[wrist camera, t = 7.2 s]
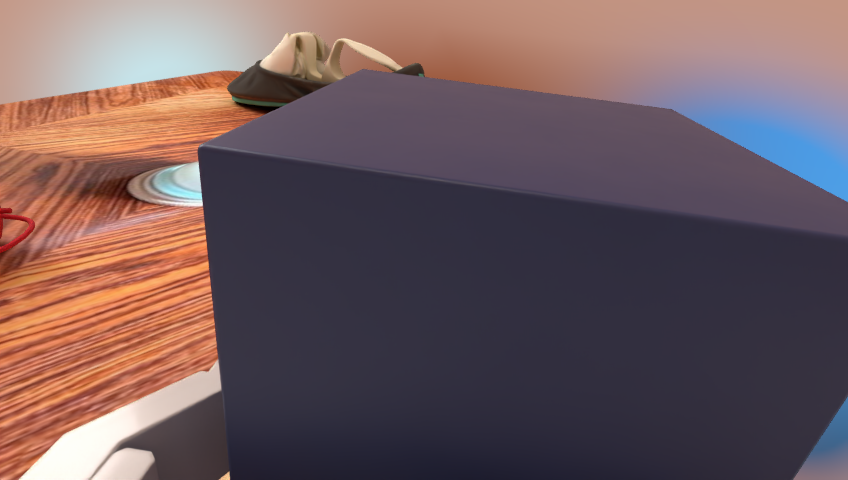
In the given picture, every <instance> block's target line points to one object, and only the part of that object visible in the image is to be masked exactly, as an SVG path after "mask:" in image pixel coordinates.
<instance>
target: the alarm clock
mask: <svg viewBox="0 0 848 480" xmlns="http://www.w3.org/2000/svg"><path fill="white" fill-rule="evenodd" d="M4 213H12V209H11V208H1V207H0V238H1V237H2V229H3V218H4V219H13V220H21V221H25V222H27V223H28V224H29V227H28V228H27V230H26V231H25V232H24V233H23V234H22V235H20V236H19V237H17V238H16V239H14V240H13V241H11V242H10V243H8V244H6V245H4V246H2V247H0V253H2V252H4V251H6V250H8V249H10V248H12V247H14V246H15V245H17V244H18V243H20V242H21V241H22V240H24V239H25V238H26V237H27V236H28V235H29V234H30V233H31V232H32V231H33V230H34V228H35V222H34V221H33V220H32V219H30V218H27V217H24V216H18V215H8V214H4Z"/></svg>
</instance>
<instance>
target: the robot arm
mask: <svg viewBox="0 0 848 480" xmlns="http://www.w3.org/2000/svg"><path fill="white" fill-rule="evenodd" d="M228 472H229V461H228V451H227V441H226V431H225V421H224V411H223V401H222V391H221V381H220V371H219V361H218V360H217V361H216V362H215V364H214V365H213V366H212V368H211V369H210V370H209V371H208V372H204V371H199V372H197V373H195V374H193V375H191V376H189V377H186V378H184V379H182V380H180V381H178V382H176V383H173V384H171V385H169V386H167V387H165V388H163V389H160V390H158V391H156V392H154V393H152V394H150V395H148V396H145V397H143V398H141V399H139V400H137V401H135V402H132V403H130V404H128V405H126V406H124V407H122V408H119V409H117V410H115V411H113V412H111V413H109V414H106V415H104V416H102V417H100V418H98V419H96V420H93V421H91V422H89V423H87V424H85V425H83V426H80V427H78V428H76V429H74V430H72V431H70V432H68V433H65V434H64V435H63V436H62V437H61V438H60V439H59V440H58V441H57V442H56V443H55V444H54V445H53V446H52V447H51V448H50V449H49V450H48V451H47V452H46V453H45V454H44V455H43V456H42V457H41V458H40V459H39V460H38V461H37V462H36V463H35V464H34V465H33V466H32V467H31V468H30V469H29V470H28V471H27V472H26V473H25V474H24V475H23V476H22V477H21V478H20V479H19V480H219V479H220V478H221V477H222V476H224V475H225V474H226V473H228Z"/></svg>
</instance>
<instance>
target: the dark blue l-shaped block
mask: <svg viewBox="0 0 848 480" xmlns="http://www.w3.org/2000/svg"><path fill="white" fill-rule="evenodd" d="M198 160H199V170H200V180H201V190H202V200H203V210H204V220H205V230H206V240H207V250H208V260H209V270H210V280H211V290H212V301H213V311H214V321H215V331H216V341H217V351H218V361H219V371H220V381H221V391H222V401H223V411H224V421H225V431H226V441H227V451H228V461H229V471H230V480H793V479H794V477H795V476H796V474H797V473H798V471H799V469H800V468H801V467H802V465H803V464H804V462H805V461H806V459H807V458H808V456H809V455H810V453H811V451H812V450H813V448H814V447H815V445H816V444H817V442H818V441H819V439H820V438H821V436H822V435H823V433H824V432H825V430H826V429H827V427H828V426H829V424H830V423H831V421H832V420H833V418H834V417H835V415H836V413H837V412H838V410H839V409H840V407H841V406H842V404H843V403H844V401H845V400H846V398H847V397H848V202H846V201H844V200H842V199H841V198H839V197H837V196H835V195H833V194H831V193H829V192H827V191H825V190H824V189H822V188H820V187H818V186H816V185H814V184H812V183H810V182H808V181H806V180H804V179H803V178H801V177H799V176H797V175H795V174H793V173H791V172H789V171H788V170H786V169H784V168H782V167H780V166H778V165H776V164H774V163H772V162H770V161H769V160H767V159H765V158H763V157H761V156H759V155H757V154H755V153H753V152H751V151H749V150H748V149H746V148H744V147H742V146H740V145H738V144H736V143H734V142H733V141H731V140H729V139H727V138H725V137H723V136H721V135H719V134H717V133H715V132H714V131H711V130H710V129H708V128H706V127H704V126H702V125H700V124H698V123H696V122H695V121H693V120H691V119H689V118H687V117H685V116H683V115H681V114H679V113H678V112H676V111H674V110H672V109H665V108H657V107H650V106H642V105H634V104H627V103H619V102H611V101H604V100H596V99H589V98H581V97H573V96H565V95H558V94H550V93H542V92H534V91H527V90H520V89H512V88H504V87H497V86H488V85H481V84H474V83H466V82H458V81H451V80H443V79H435V78H428V77H420V76H412V75H405V74H397V73H389V72H382V71H373V70H366V69H362V70H360V71H358V72H356V73H354V74H351V75H349V76H347V77H345V78H343V79H340V80H338V81H336V82H334V83H332V84H330V85H328V86H325V87H323V88H321V89H319V90H317V91H315V92H313V93H310V94H308V95H306V96H304V97H302V98H300V99H297V100H295V101H293V102H291V103H289V104H287V105H285V106H282V107H280V108H278V109H276V110H274V111H272V112H270V113H267V114H265V115H263V116H261V117H259V118H257V119H255V120H252V121H250V122H248V123H246V124H244V125H242V126H240V127H237V128H235V129H233V130H231V131H229V132H227V133H224V134H222V135H220V136H218V137H216V138H214V139H212V140H209V141H207V142H205V143H203V144H201V145H200V146H199V147H198Z"/></svg>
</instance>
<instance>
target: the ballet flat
mask: <svg viewBox="0 0 848 480" xmlns="http://www.w3.org/2000/svg"><path fill="white" fill-rule="evenodd" d="M344 43H346V44H347V45H348V46H350V47H351V48H352V49H354V50H355V51H356V52H358V53H360V54H362V55H363V56H365V57H367V58H369V59H371V60H373V61H375V62H377V63H379V64H381V65H384V66H385V67H387V68H389V69H391V70H392V71H394V72H392V73H397V74H405V75H412V76H420V77H425V76H424V70H423V68H422V66H421V65H420V64H419V63H415V64H412V65H409V66H407V67H404V68H402V67H401V66H399V65H397V64H396V63H395V62H394V61H393V60H392V59H390V58H389V57H387V56H386V55H384V54H382V53H380V52H378V51H377V50H375V49H373V48H370V47H368V46H366V45H363V44H361V43H358V42H354V41H352V40H350V39H338V40H337V41H336V42H335V43H334V46H333V48H332V50H331V48H330V47H329V46H328V45H327V44H326V43H325V42H324V41H323V39H322V38H321V37H320V36H318V35H317V34H315V33H312V32H301V33H295V34H292V35H289V33H287V34H286V35H285V36H284V38H283V40H282V41H281V42H280V44H279V45H278V46H277V47H276V48H275V49H274V51H273V52H272V54H269V55H268V56H267V57H266V58H265V59H264V60H259V61H257V62H256V64H255V65H254V66H252V67H250V68H249V69H247V70H246V71H245V72H243V73H242V74H241V75H240V76H239V77H237V78H236V79H235V80H233V81H232V82H231V83H230V84H229V85H228V88H227V89H228V91H229V92H230V94H231V95H232V99H233V101H236V102H239V103H244V104H251V105H260V106H276V107H282V106H285V105H287V104H289V103H291V102H293V101H295V100H297V99H300V98H302V97H304V96H306V95H308V94H310V93H313V92H315V91H317V90H319V89H321V88H323V87H325V86H328V85H330V84H332V83H334V82H336V81H338V80H340V79H343V78H345V77H347V76H345V75H344V74H343V72H342V70H341V68H340V63H339V59H340V53H341V50H342V47H343V44H344ZM327 59H328V61H327V63H326V66H325V64H324V62H325V61H326V60H327Z"/></svg>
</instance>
